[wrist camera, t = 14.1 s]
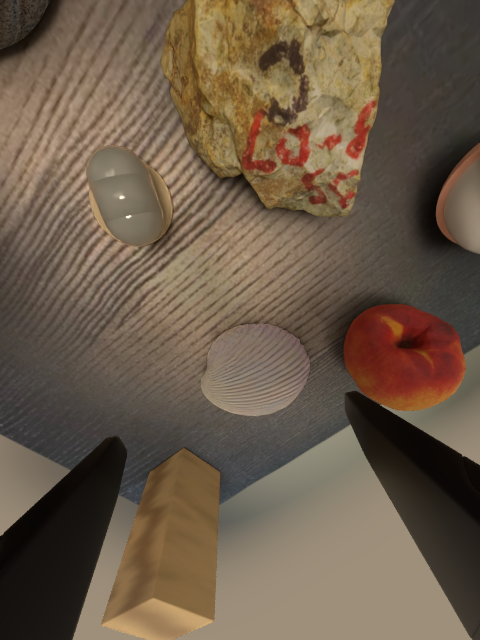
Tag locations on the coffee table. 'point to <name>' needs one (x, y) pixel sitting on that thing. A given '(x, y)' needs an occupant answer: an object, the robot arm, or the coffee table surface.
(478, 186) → the toy ball
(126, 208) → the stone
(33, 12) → the vase
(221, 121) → the rock
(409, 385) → the fruit
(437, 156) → the coffee table surface
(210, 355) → the seashell
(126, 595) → the stand
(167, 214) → the coaster
